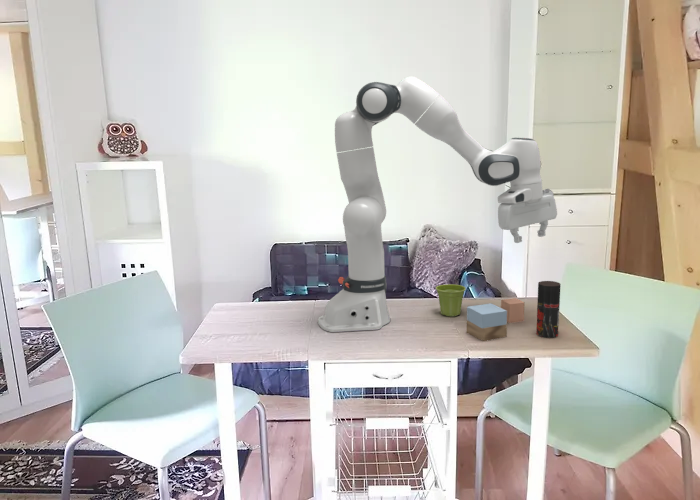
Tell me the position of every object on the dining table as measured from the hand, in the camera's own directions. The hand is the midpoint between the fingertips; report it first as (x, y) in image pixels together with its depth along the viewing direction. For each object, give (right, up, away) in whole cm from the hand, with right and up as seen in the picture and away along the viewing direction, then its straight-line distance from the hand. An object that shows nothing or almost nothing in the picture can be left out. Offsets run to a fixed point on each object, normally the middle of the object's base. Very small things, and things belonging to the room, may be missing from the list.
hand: (530, 239), depth 174 cm
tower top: (-14, -24, -6) cm, 29 cm away
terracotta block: (-3, -25, +7) cm, 26 cm away
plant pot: (-21, -24, +14) cm, 35 cm away
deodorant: (+3, -27, -7) cm, 28 cm away
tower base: (-14, -28, -5) cm, 32 cm away
